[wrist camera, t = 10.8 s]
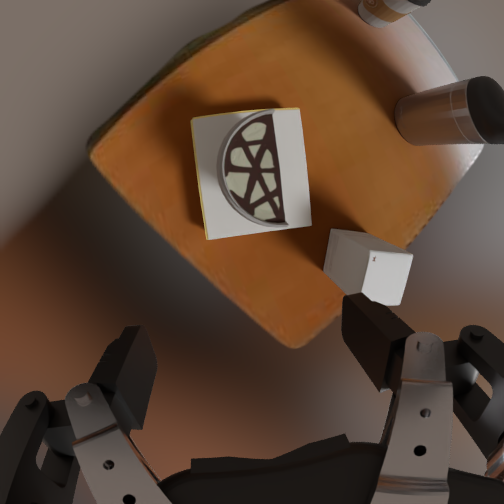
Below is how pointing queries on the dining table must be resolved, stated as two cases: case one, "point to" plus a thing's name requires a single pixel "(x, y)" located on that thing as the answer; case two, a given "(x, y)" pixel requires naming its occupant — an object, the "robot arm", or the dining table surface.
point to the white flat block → (291, 169)
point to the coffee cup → (387, 10)
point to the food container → (252, 170)
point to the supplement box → (367, 266)
